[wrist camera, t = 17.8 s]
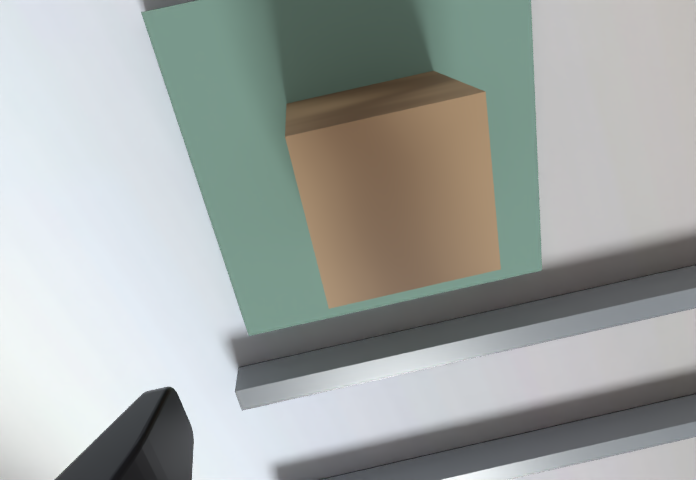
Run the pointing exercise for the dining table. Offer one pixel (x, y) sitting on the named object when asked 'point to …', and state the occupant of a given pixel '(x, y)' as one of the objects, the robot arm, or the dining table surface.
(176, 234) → the dining table surface
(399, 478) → the channel
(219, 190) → the mat
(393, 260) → the tan block
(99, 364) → the dining table surface
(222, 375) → the dining table surface
